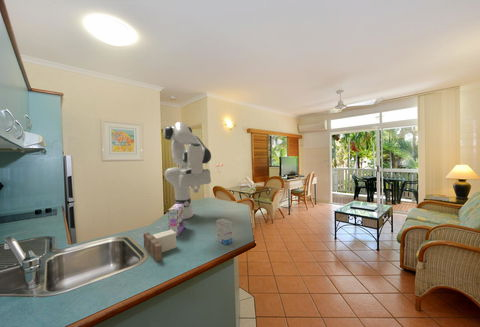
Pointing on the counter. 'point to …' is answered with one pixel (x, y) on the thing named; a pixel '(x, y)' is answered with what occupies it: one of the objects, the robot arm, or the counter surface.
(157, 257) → the walnut board
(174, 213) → the candy box
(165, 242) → the cream block
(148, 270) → the counter surface
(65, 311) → the counter surface
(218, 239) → the ink box
